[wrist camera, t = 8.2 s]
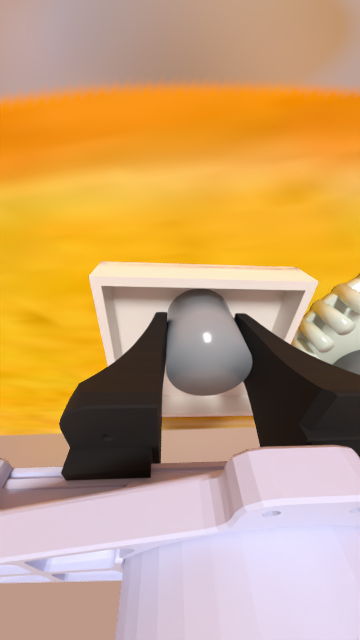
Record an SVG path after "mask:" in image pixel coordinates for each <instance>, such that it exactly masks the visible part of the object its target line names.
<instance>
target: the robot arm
mask: <svg viewBox="0 0 360 640" xmlns="http://www.w3.org/2000/svg"><path fill="white" fill-rule="evenodd" d="M234 320H235V322H236V324H237V326H238V328H239V330H240V332H241V334H242V336H243V339H244V341H245V343H246V345H247V347H248V349H249V351H250V353H251V356H252V367H251V370H250V373H249V374H248V376H247V377H246V378H245V380H244V381H243V382H244V385H245V388H246V391H247V394H248V398H249V401H250V405H251V409H252V413H253V417H254V421H255V425H256V429H257V434H258V439H259V443H260V447H259V448H252V449H247V450H245V451H242V452H239V453H237V454H235V455H233V457H231V459H230V460H229V461H224V462H192V463H163V464H162V463H161V426H162V391H163V381H164V373H165V365H166V344H167V312H156V313H155V315H154V317H153V319H152V321H151V323H150V324H149V326H148V327H147V329H146V330H145V331H144V333H143V334H142V335H141V337H140V338H139V339H138V340H137V341H136V343H135V344H134V345H133V346H132V347H131V348H130V349H129V350H128V351H127V352H126V353H124V354H123V355H122V356H121V357H120V358H119V359H117V360H116V361H115V362H114V363H112V364H111V365H109V366H108V367H107V368H105V369H104V370H102V371H100V372H99V373H97V374H95V375H94V376H92V377H90V378H88V379H87V380H85V381H83V382H81V383H79V385H78V386H77V388H76V390H75V391H74V393H73V394H72V396H71V398H70V399H69V402H68V404H67V406H66V408H65V410H64V412H63V414H62V417H61V419H60V423H59V425H60V429H61V431H62V433H63V435H64V437H65V439H66V440H67V442H68V444H69V446H70V450H69V453H68V455H67V458H66V461H65V463H64V466H62V467H29V468H12V466H11V465H10V463H9V462H8V461H7V460H5V459H2V458H0V583H31V582H81V581H122V584H121V592H120V601H119V609H118V618H117V626H116V634H115V640H360V375H359V374H356V373H353V372H350V371H347V370H345V369H342V368H339V367H337V366H334V365H332V364H329V363H327V362H325V361H322V360H320V359H318V358H316V357H314V356H311V355H309V354H307V353H305V352H303V351H302V350H300V349H298V348H296V347H294V346H292V345H291V344H289V343H287V342H286V341H284V340H283V339H281V338H280V337H278V336H276V335H275V334H274V333H272V332H271V331H269V330H268V329H267V328H265V327H264V326H262V325H261V324H260V323H258V322H257V321H256V320H254V319H253V318H252V317H250V316H249V315H247V314H246V313H235V316H234Z"/></svg>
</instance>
